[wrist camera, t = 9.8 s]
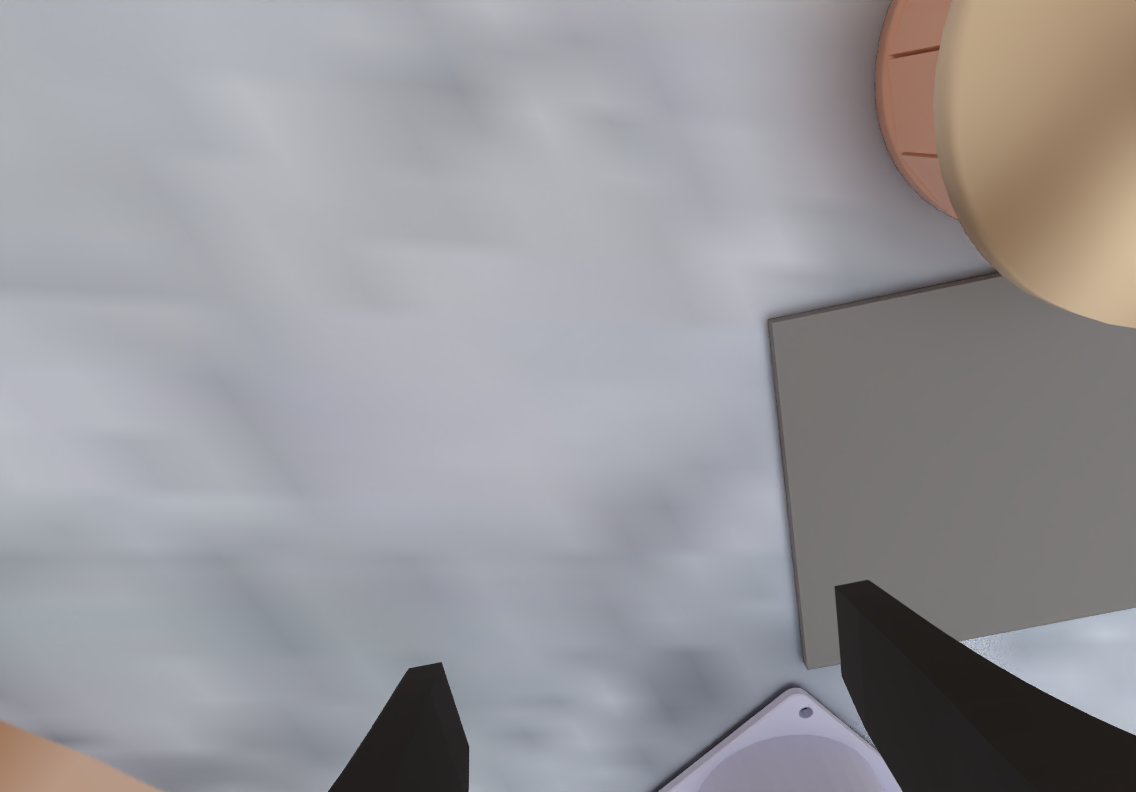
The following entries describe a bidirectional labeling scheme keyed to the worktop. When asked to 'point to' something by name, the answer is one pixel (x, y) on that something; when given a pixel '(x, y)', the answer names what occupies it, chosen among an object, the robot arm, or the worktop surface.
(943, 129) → the lid
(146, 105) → the worktop surface
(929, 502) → the mat
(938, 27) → the bowl
